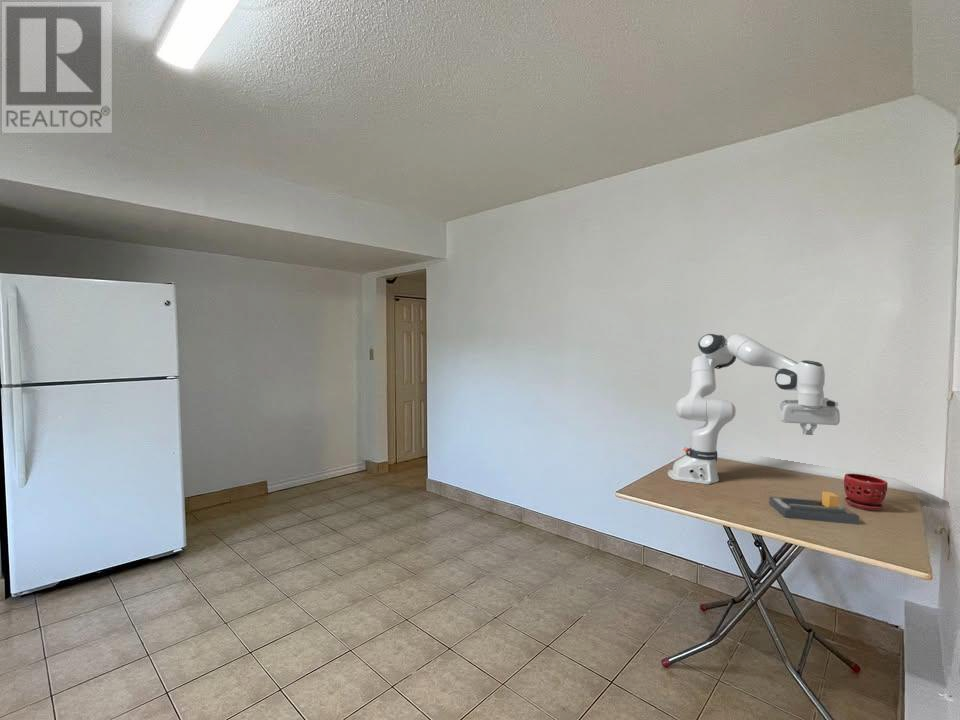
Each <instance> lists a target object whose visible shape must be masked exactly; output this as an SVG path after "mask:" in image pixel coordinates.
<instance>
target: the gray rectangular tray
mask: <svg viewBox="0 0 960 720" xmlns="http://www.w3.org/2000/svg"><path fill="white" fill-rule="evenodd" d="M768 499H769V505H770V506H771V507H772V508H773V507H774V508H773V509H775V511H777V512H778V513H779V515H781V516H782V517H783V518H785V519H796V520H797V519H798V520H808V521H818V522H819V521H820V522H829V523H841V524H850V525H860V515H859V514H856V513H855V512H853V510H850V509H848V508H847V507H846V506H844V505H842V504H841V503H839V504H838V508H835V507H826V506H824V505H823V504H822V499H821V500H820V499H807V498H798V497H797V498H796V497H785V496H781V497H777V496H776V497H775V496H769V498H768Z"/></svg>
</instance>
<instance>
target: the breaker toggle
mask: <svg viewBox="0 0 960 720" xmlns="http://www.w3.org/2000/svg"><path fill="white" fill-rule="evenodd" d="M821 500H822V504H823V505H824V506H826V507H835V508H838V504H840V503H839V502H840V501H839V500H840V496H838V495H837V494H835V493H833V492H832V491H822V499H821Z"/></svg>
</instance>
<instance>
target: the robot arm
mask: <svg viewBox="0 0 960 720" xmlns="http://www.w3.org/2000/svg"><path fill="white" fill-rule="evenodd" d="M697 345H698V348H699V351H700V352H701V353H703V354H702V355H697V356H695V357H694V358H693V359H692V360H691V364H690V365H691V366H690V371H689V372H690V388H689V391H688V392H687V394H686V395H684V396H683V397H681V398H679V400H678V401H677V402H676V404H675V412H676V415H677V416H678V417H679V419H684V420H686V421H687V420H688V421H698V422H705V423H704V425H703V426H700V427H697V428H696V429H693V431H692V432H691V434H690V437H691V438H690V447H689V448H688V447H687V446H686V447H683V451H684V452H685V455H684V456H682V457H681V458H678V459H677V460H675V461H674V463H673V466H672V469H668V470H667V475H668V477H669V478H670V479H672V480H675V481H682V482H689V483H695V484H696V483H697V484H703V485H711V484H714V483H718V482H719V481H720V478H719V475H718V468H717V462H718V451H717V444H718V437H719V433H720V431H721V430H722V429H723V427H725V425H726V424H728V423H729V422H732V421H733V419H734V418H735V416H736V413H737V412H736V411H737V409H736V406H735V405H734V404H733V402H731V401H729V400H726V399H721V398H706V397H707V396H709V395H711V394H713V393H714V392H715V391H716V388H717V385H716V375H715V374H716V372H715V369H717V370H720V369H722V368H727V367H730V366H732V365H733V364H734V363H735V362H736V360H737V359H738V360H739V361H741V362H742V363H744V364H746V365H749V366H751V367H761V368H763V367H764V368H772V369H777V372H776V373H775V374H774V382H775V385H776V386H777V387H778V388H779V389H781V390H784V391H796V397H795V398H796V399H793V400H789V399H785V400H783V401H781V402H780V403H779V404H780V405H779V406H780V411H779V415H778V416H779V418H778V419H779V421H780V422H781V423H784V424H786V423H787V424H799V426H800V428H801V429H802V435H804V436H806V435H807V436H813V435H814V431H815V430H816V429H817V427H818V425H828V426H838V425H839V424H840V422H841V421H840V420H841V418H840V417H841V415H840V410H839V408H838V407H839V402H837V401H835V400H832V399H829V398H827V397H825V393H824V386H825V377H826V375H825V374H826V373H825V368H824V365H823V363H821V362H820V361H819V362H818V361H814V360H801V361H798V362H797V361H794V360H793V359H791V358H790V357H787V356H785V355H784V354H783V355H782V354H781V353H779V352H777V351H775V350H773V349H771V348H769V347H767V346H765V345H764V344H762V343H760V342H759V341H757V340H756V339H754V338H751V337H749V336H747V335H745V334H741V333H734V334H732V335H730V336H729V337H727V338H725V336H724V335H722V334H719V335H718V334H714V333H707V334H705V335H703V336H702V337H700V338H699V340H698V343H697ZM807 425H810V428H809V429H807V428H806V427H807Z"/></svg>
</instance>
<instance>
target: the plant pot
mask: <svg viewBox="0 0 960 720" xmlns="http://www.w3.org/2000/svg"><path fill="white" fill-rule="evenodd" d="M843 480H844V481H843V488H844V492H845V495H846V497H844V501H845V503H847V504H848V505H850V506H851V507H854V508H856V509H861V510H867V511H879V510H882V509H883V505H882V503H883V502H884V500H885V498H886V495H887V492H888V484H889V483H888V482H887V481H886V480H884V479H881V478H879V477H875V476H870V475H866V474H860V473H859V474H858V473H845V474H844V478H843Z"/></svg>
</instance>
